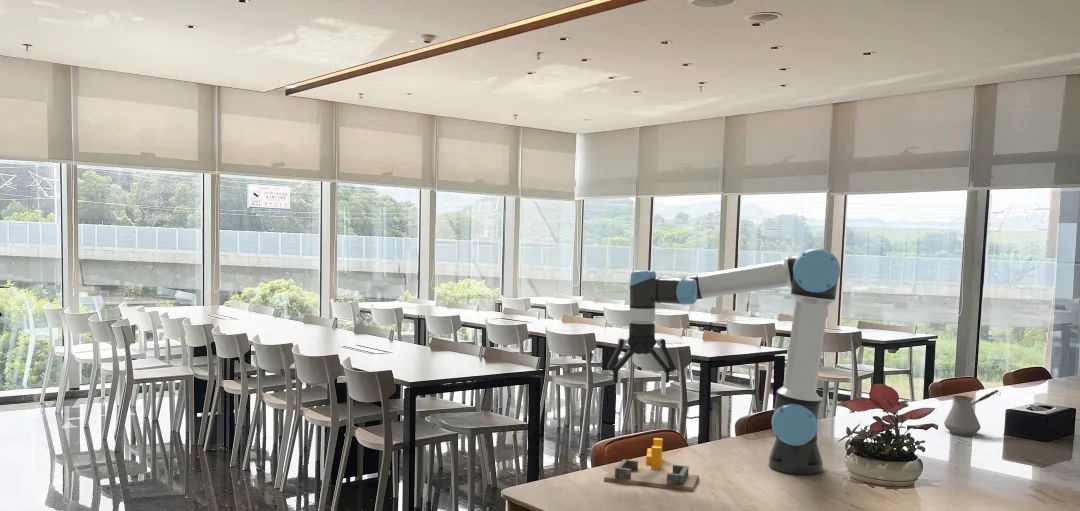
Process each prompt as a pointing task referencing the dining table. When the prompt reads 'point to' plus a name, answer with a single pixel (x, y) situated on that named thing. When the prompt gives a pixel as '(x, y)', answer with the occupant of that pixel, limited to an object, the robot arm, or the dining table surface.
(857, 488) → the dining table surface
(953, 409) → the coffee pot
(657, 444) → the pipe clamp
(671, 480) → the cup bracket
